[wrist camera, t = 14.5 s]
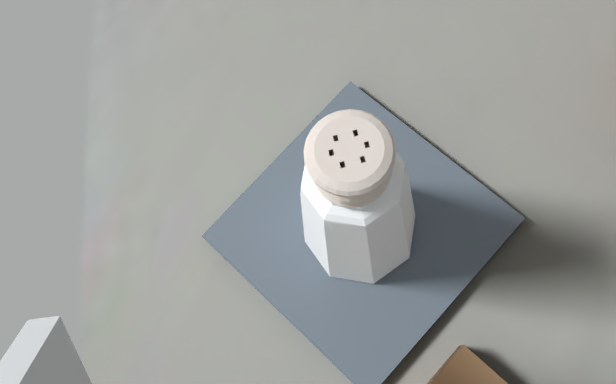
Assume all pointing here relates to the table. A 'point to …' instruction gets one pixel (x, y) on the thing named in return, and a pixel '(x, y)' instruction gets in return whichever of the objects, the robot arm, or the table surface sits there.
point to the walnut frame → (465, 370)
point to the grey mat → (354, 294)
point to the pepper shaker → (356, 197)
